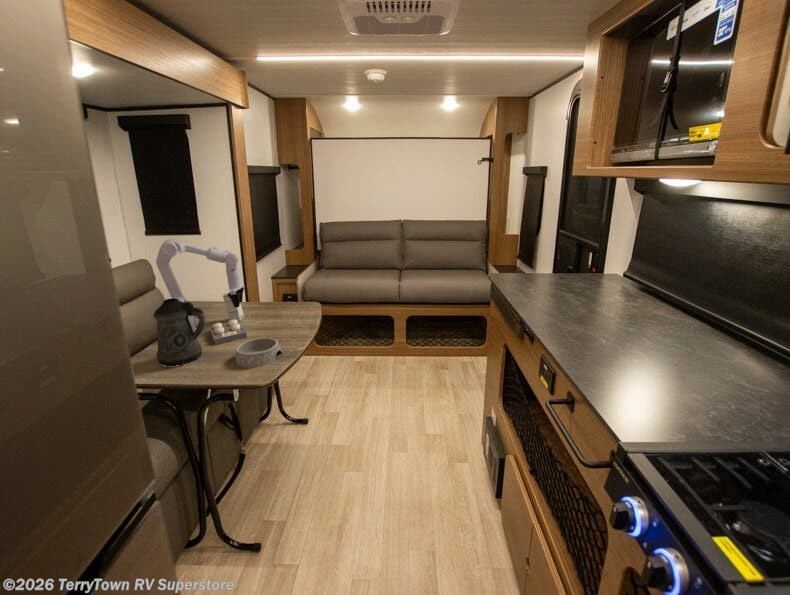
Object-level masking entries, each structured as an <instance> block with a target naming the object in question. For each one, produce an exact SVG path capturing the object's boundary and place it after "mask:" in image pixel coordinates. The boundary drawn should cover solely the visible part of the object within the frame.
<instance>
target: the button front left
mask: <svg viewBox="0 0 790 595" xmlns="http://www.w3.org/2000/svg"><path fill="white" fill-rule="evenodd" d="M214 331H215V335H219V334H223V333H225V332H224V328H223V327H219V328H216V329H214Z"/></svg>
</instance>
